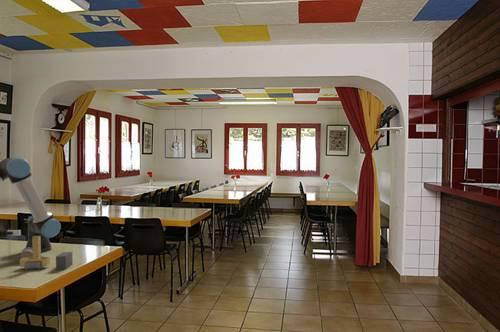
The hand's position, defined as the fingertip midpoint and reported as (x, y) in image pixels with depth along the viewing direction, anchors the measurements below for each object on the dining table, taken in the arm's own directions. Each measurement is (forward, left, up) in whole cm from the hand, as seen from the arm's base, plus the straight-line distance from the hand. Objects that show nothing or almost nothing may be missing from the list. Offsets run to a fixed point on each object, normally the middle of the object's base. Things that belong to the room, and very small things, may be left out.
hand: (20, 232), depth 211 cm
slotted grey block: (0, +23, -20) cm, 30 cm away
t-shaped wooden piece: (0, +7, -18) cm, 20 cm away
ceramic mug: (-17, -2, -20) cm, 26 cm away
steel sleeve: (0, +7, -20) cm, 21 cm away
